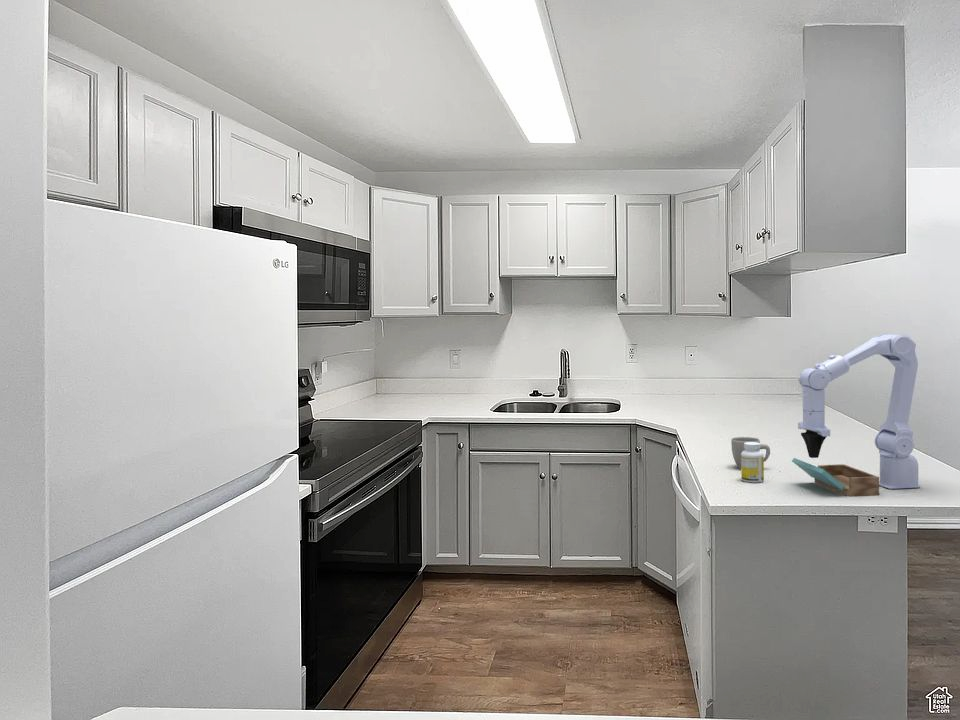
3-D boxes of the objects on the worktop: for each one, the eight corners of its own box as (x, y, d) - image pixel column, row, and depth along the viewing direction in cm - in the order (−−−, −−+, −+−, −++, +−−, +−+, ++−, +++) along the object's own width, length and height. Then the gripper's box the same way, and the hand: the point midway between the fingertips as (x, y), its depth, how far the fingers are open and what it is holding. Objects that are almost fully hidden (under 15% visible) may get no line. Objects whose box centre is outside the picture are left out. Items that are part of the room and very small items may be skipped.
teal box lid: (815, 474, 226) (794, 457, 225) (846, 488, 209) (824, 469, 208) (812, 478, 226) (791, 460, 225) (844, 491, 209) (821, 473, 208)
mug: (730, 470, 246) (730, 440, 246) (732, 464, 254) (732, 436, 254) (770, 472, 242) (769, 442, 241) (770, 466, 250) (770, 437, 249)
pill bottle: (758, 478, 234) (758, 441, 233) (767, 482, 227) (767, 444, 226) (738, 478, 233) (737, 441, 233) (746, 483, 227) (745, 445, 226)
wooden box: (843, 480, 227) (843, 464, 227) (879, 494, 209) (879, 477, 209) (814, 481, 226) (814, 465, 226) (847, 496, 209) (847, 478, 208)
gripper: (788, 407, 223) (788, 453, 224) (812, 414, 208) (813, 462, 209) (811, 406, 223) (811, 452, 224) (837, 413, 209) (837, 461, 210)
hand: (813, 457), depth 217 cm, fingers closed
